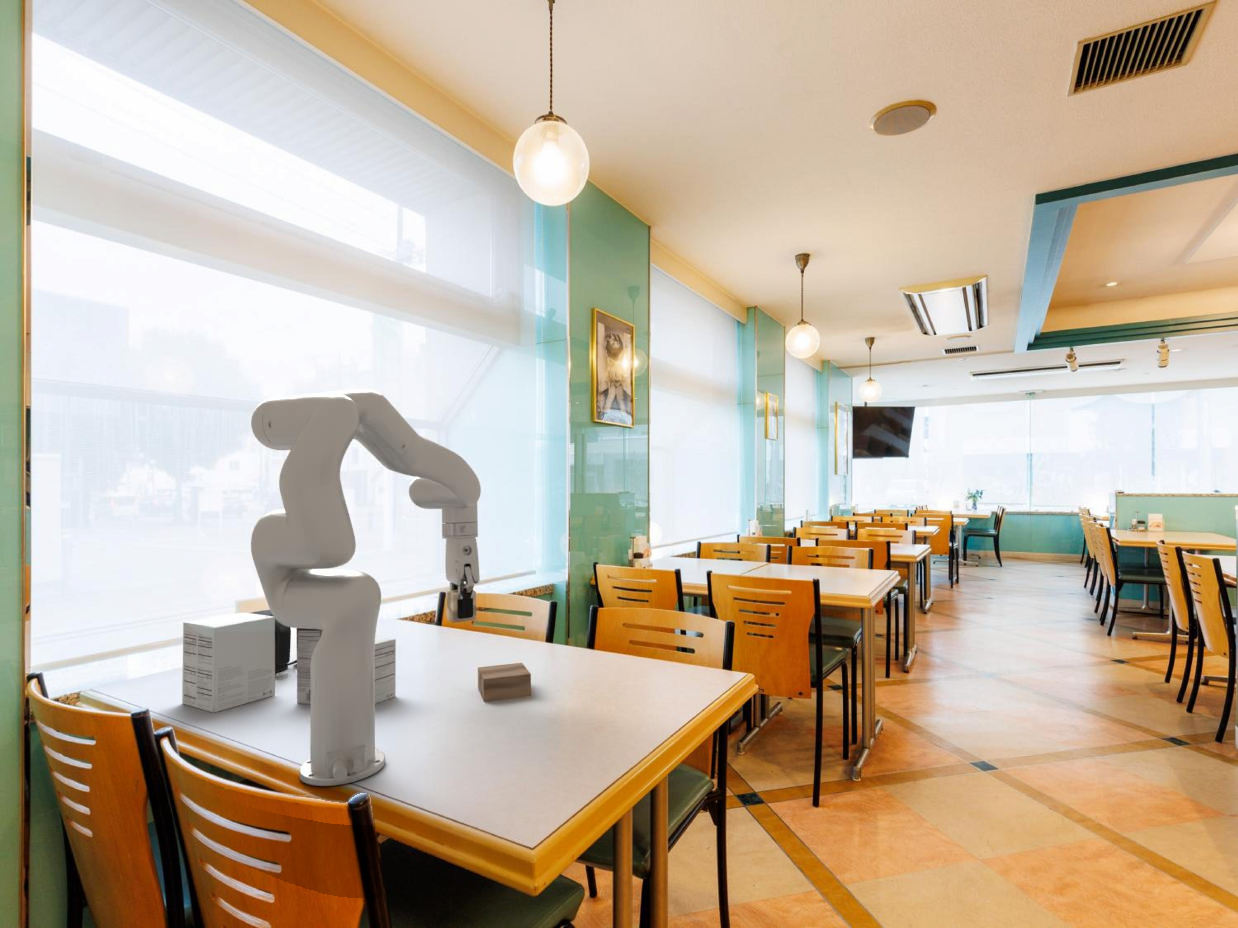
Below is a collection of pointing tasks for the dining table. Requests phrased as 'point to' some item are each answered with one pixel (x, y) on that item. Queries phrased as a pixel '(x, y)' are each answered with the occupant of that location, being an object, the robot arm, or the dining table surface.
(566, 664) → the dining table surface
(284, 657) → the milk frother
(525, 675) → the walnut block
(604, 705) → the dining table surface
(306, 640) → the coffee box
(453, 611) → the maple block
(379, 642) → the supplement box
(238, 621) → the supplement box
